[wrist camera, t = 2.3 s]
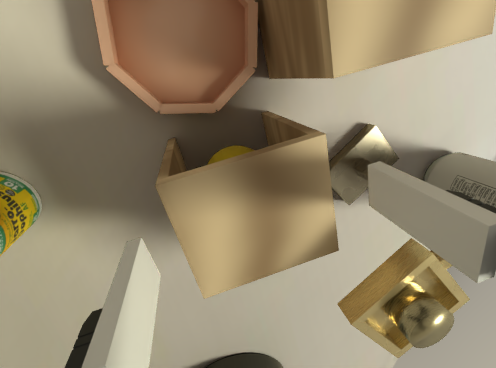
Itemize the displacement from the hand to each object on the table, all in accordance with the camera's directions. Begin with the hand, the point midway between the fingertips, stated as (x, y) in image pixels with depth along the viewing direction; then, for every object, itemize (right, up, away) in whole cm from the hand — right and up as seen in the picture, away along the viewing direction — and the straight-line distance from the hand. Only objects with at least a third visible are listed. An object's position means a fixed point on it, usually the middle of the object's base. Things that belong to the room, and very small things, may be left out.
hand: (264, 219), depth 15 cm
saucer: (-6, +13, +5) cm, 16 cm away
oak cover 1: (-3, +4, +10) cm, 11 cm away
